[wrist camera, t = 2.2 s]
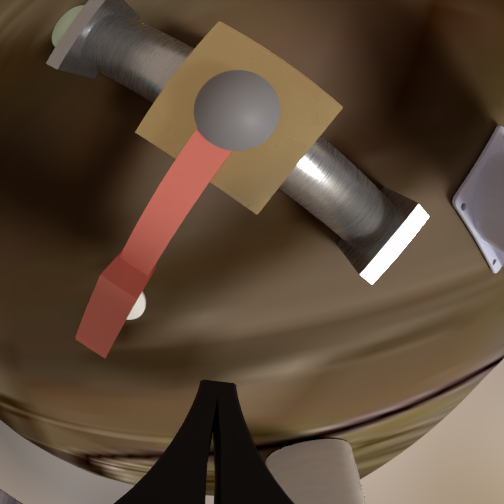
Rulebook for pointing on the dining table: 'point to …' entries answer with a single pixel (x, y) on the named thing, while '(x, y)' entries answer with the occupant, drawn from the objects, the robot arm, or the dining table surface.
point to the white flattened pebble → (138, 307)
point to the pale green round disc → (64, 24)
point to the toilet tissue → (317, 472)
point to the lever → (180, 194)
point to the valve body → (255, 159)
